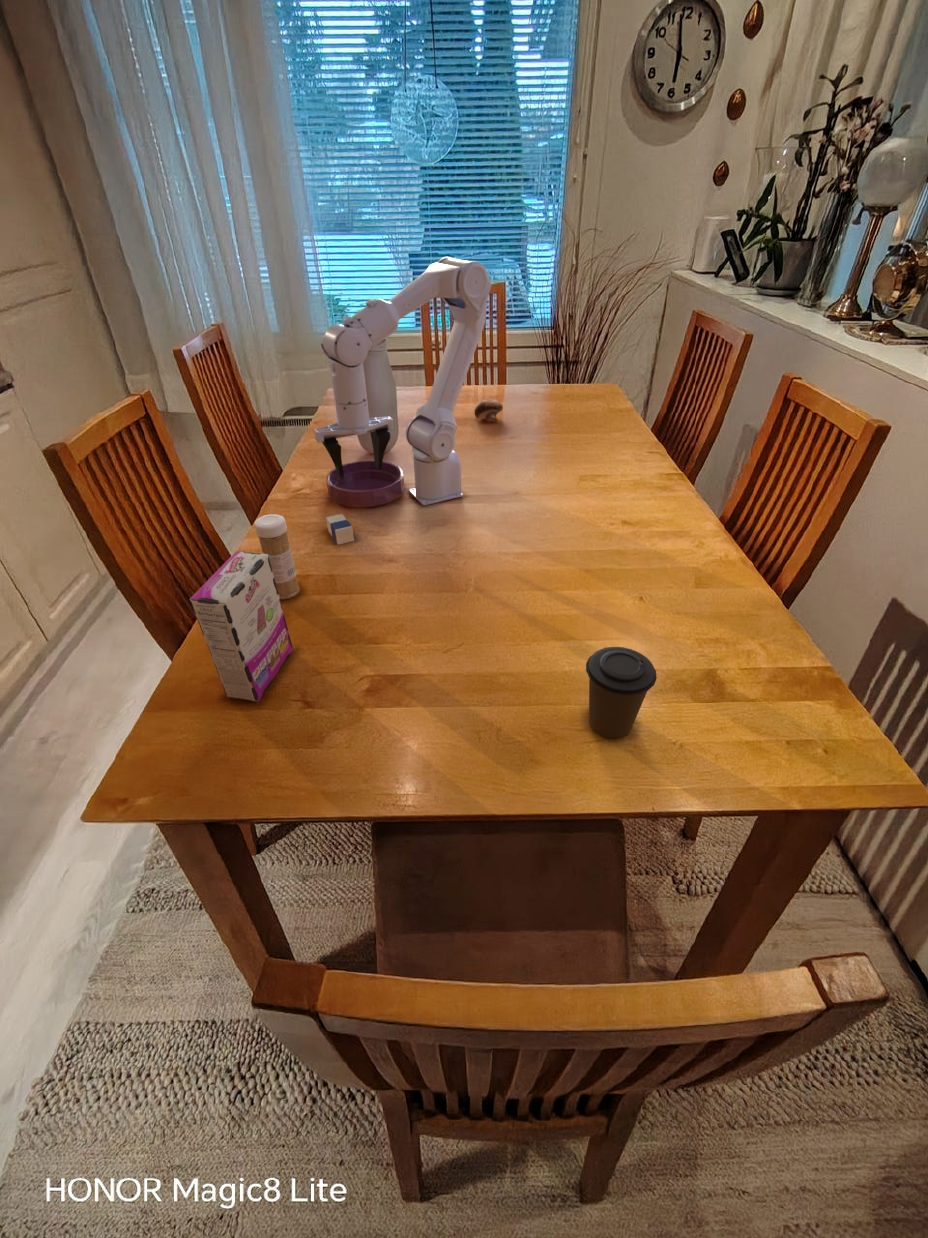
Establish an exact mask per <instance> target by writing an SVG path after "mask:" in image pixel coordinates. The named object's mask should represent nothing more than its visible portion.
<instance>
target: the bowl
mask: <svg viewBox="0 0 928 1238" xmlns="http://www.w3.org/2000/svg"><path fill="white" fill-rule="evenodd" d="M342 466H343V471H344V477H342V478H340V477H339V475H338V474H337V471H336V468H333V469H332V470H329V472H328V473H327V475H326V479H325V480H326V481H325V482H326V487H327V493H328V497H329V498H330V499H331V500H332V501H333V502H335V503H337V504H339V505H342V506H346V507H350V508H351V507H353V508H369V507H371V508H372V507H376V506H381V505H385V504H388V503H390V502H393V501H395V500H397V499H398V498H399V497H400V496H402V495H403V493H404V492H405V478H404V471H403V469H402V468H401V467H400V466H399V465H396V464H394V463H391V462H388V461H383V463H382V469H381V470H378V469H377V468H376V467H375V463H374V460H358V461H352V462H347V463H344V464H342Z"/></svg>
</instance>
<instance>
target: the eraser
mask: <svg viewBox="0 0 928 1238" xmlns="http://www.w3.org/2000/svg"><path fill="white" fill-rule="evenodd" d="M325 520H326V525H327V531H328V533H329V534H330V536H331V537H332V539H333V541H334V543H336V545H338V546H339V545H343V544H347V543H351V542H355V536H354V529H353V526H352V524H351V523H350V521H349V520H348V519H347V518H346V517H345V516H344V514H343V513H340V514H335V515H330V516H327V517H325Z"/></svg>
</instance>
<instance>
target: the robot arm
mask: <svg viewBox="0 0 928 1238" xmlns="http://www.w3.org/2000/svg"><path fill="white" fill-rule="evenodd" d="M492 287H493V285H492V282H491V278H490V276H489V274H488V271H487V268H486V267H485V265H484V264H483V263H482V262H480V261H478V260H464V259H459V258H454V257H451V256H444V257H442V258H440V259H439V260H437V262H433V263H432V264H430V265H429V266H428V267H427V268H426V269H425V271H424V272H423V273H422V274H420V275H419V276H418V277H416V278H415V279H414V280H412V281H411V282H410V283H408V284H407V285H406V286H405V287H404V288H402V289H401V290H400V291H399V292H397V293H396V294H395V295H394V296H392V297H391V298H390V299H389V300H384V299H381V298H376V299H373V298H369V299H368V300H367V301H365V305H366V306H365V307H364V308H362V309H361V310H359V311H358V312H356V313H355V314H354V315H352V316H350V315H348V316H346V317H344V318H343V321H344V322H343V324H340V323H339V324H337V323H335V324H332V325H329V327H328V328H327V329H326V330H325V334H323V338H322V342H321V343H320V347H321V351H323V353H324V355H325V356H326V357H327V358H328V361H329V367H330V375H331V383H332V389H333V397H334V403H335V404H334V405H335V410H336V419H337V422H334V423H331V424H328V425H326V426H322V427H319V428H314V429H313V432H314V437H315V440H316V442H317V443H318V444H320V443H321V444H323V446H324V448H325V449H326V452H327V453H328V454H329V456H330V458H331V461H332V463H333V465H334V467H335V468H336V471H337V474H338V475H339V477H340V478H342V477H344V471H343V466H342V465H343V459H342V445H341V444H340V443H339V440H337V439H340V438H346V437H351V436H357V435H361V434H366V433H369V432H370V435H371V439H372V444H373V453H372V454H373V461H374V463H375V467H376V468H377V469H378V470H381V469H382V463H383V462H384V456H385V453H386V452H385V450H386V447H387V444H388V442H389V440H390V433H389V432H388V430H393V419H391V418H390V417H389V416H388V417H379V418H369V413H368V403H367V394H366V385H365V375H364V367H363V362H364V361H365V359H366V357H367V354H368V351H369V350H370V349H371V348H373V347H374V346H376V345H377V344H378V343H380V342H381V341H383V340H384V339H387V338H388V337H390V336H391V335H393V334H394V333H395V332H396V331H397V330H398V328H399V321H400V320H401V319H403V318H404V317H407V316H408V315H409V314H411V313H413V312H414V311H416V310H417V309H419V308H420V307H423V306H424V305H425V304H427V303H429V302H430V301H432V300H433V299H435V298H438V299H439V298H440V299H442V300H443V301H444V303H445V304H446V305H447V306H448V308H449V310H450V312H451V315H452V317H453V320H454V321H453V325H452V328H451V331H450V334H449V337H448V340H447V343H446V345H445V349H444V352H443V354H442V357H441V361H440V363H439V366H438V369H437V372H436V374H435V378H434V380H433V384H432V386H431V389H430V392H429V395H428V399H427V401H426V403H424V404H423V405H421V406H419V408H417V409H416V413H415V415H414V417H413V418H412V419H411V420H410V421H409V423H408V424H407V427H406V429H405V438H406V441H407V443H408V444H409V445H410V446H411V449H412V455H413V456H412V459H413V474H414V475H413V476H414V488H409V489H408V492H409V493H410V495H411V496H412V497H413V498H415V499H416V501H418V503H420V504H421V505H422V506H428V505H432V504H437V503H440V502H441V503H442V502H444V501H445V502H446V501H449V500H453V499H457V498H462V497H464V493H462V464H461V460H460V456H459V455H458V453H457V452H456V451H455V450H454V448H455V445H456V444H455V443H456V432H457V430H458V425H457V421H456V419H455V416H454V411H455V408H456V406H457V402H458V400H459V397H460V394H461V391H462V389H463V386H464V383H465V380H466V378H467V376H468V375H467V374H468V373H469V369H470V366H471V365H472V361H473V358H474V355H475V353H476V350H477V347H478V344H479V341H480V338H481V336H482V332H483V330H484V327H485V325H486V320H487V303H488V301H487V300H488V297H489V296H490V295H489V294H490V293H491V288H492ZM335 468H334V469H335Z"/></svg>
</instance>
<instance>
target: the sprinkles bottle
mask: <svg viewBox="0 0 928 1238" xmlns="http://www.w3.org/2000/svg"><path fill="white" fill-rule="evenodd" d="M254 529H255V533H256V535H257V537H258V540H259V544H260V548H261V554H268V556H269V560H270V564H271V567H272V571H273V575H274V579H275V583H276V586H277V590H278V594H279V597H280V600H288V599H289V600H290V599H292V598H294V597H296V596H297V595H298V594H299V593H300V585H299V582H298V579H297V570H296V565H295V561H294V557H293V553H292V548H291V545H290V541H289V537H288V527H287V522H286V519H285V517H284V516H283V515H280V514H276V513H275V514H274V513H272V514H265V515H262V516H260V517H258V518H257V519H255V521H254Z"/></svg>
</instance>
